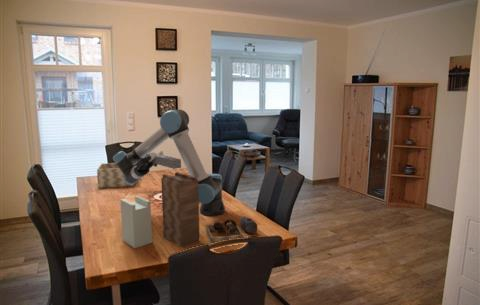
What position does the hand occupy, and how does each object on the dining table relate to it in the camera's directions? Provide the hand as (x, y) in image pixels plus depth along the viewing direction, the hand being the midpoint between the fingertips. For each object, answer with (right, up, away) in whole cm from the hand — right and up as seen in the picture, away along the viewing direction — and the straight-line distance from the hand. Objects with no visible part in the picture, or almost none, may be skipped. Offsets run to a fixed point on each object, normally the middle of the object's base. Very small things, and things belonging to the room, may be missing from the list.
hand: (158, 154), depth 178 cm
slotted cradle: (-8, -42, -9) cm, 44 cm away
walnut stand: (+13, -41, -7) cm, 44 cm away
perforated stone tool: (+45, -40, +4) cm, 60 cm away
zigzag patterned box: (-55, -23, +100) cm, 117 cm away
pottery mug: (+34, -40, 0) cm, 53 cm away
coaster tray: (+33, -41, -3) cm, 53 cm away
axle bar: (+3, -5, -2) cm, 6 cm away
